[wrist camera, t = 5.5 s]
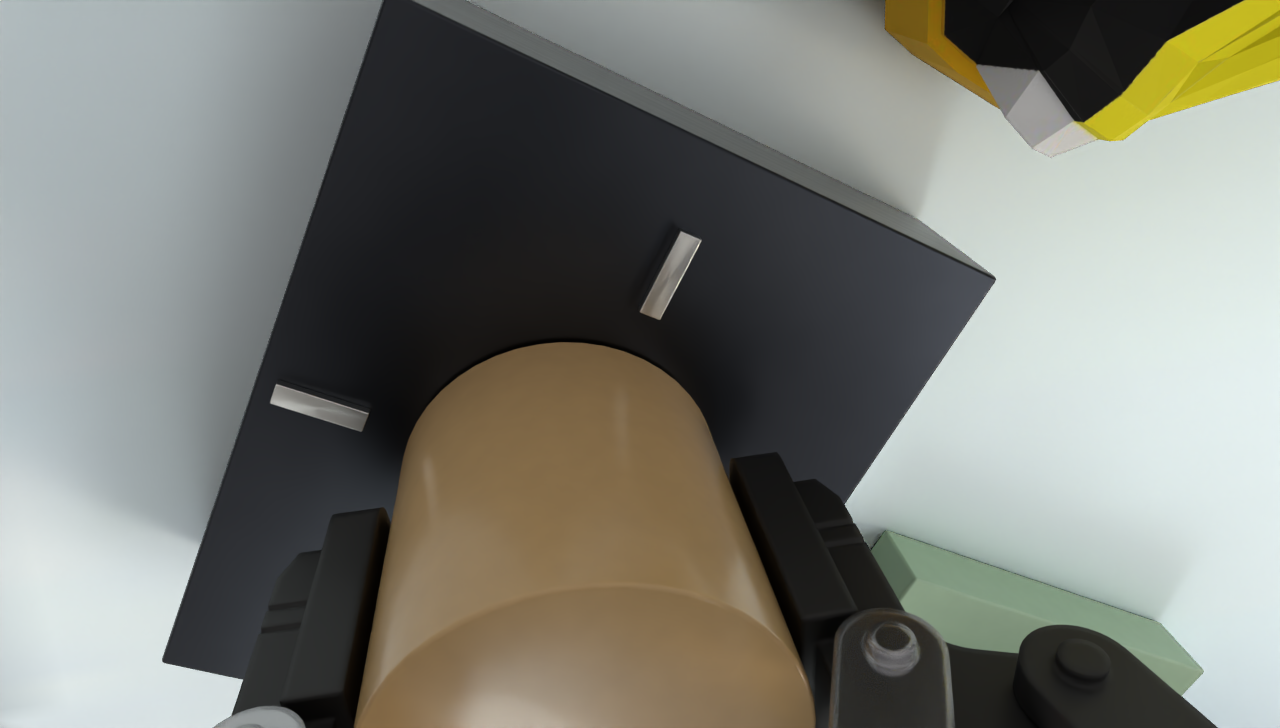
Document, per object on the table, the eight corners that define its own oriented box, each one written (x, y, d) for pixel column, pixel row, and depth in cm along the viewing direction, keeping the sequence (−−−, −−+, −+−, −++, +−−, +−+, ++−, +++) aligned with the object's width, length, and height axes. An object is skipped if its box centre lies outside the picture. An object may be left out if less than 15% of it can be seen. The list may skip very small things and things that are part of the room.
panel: (409, -28, 13) (385, -11, 11) (919, 220, 17) (1003, 282, 14) (210, 552, 18) (156, 670, 15) (645, 661, 21) (666, 776, 18)
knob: (366, 368, 13) (278, 660, 8) (705, 317, 14) (826, 565, 8) (438, 622, 16) (407, 969, 10) (723, 573, 16) (826, 884, 11)
